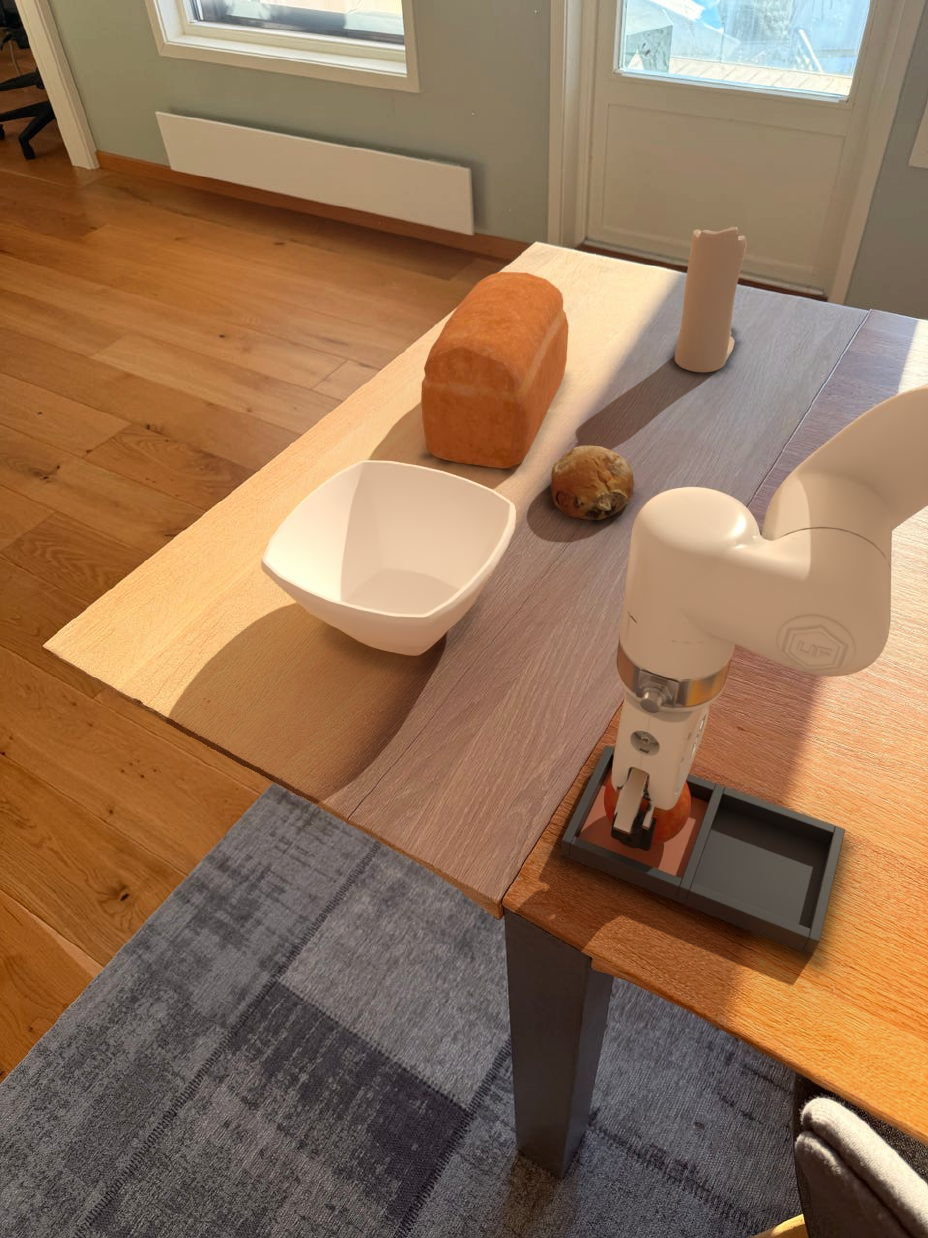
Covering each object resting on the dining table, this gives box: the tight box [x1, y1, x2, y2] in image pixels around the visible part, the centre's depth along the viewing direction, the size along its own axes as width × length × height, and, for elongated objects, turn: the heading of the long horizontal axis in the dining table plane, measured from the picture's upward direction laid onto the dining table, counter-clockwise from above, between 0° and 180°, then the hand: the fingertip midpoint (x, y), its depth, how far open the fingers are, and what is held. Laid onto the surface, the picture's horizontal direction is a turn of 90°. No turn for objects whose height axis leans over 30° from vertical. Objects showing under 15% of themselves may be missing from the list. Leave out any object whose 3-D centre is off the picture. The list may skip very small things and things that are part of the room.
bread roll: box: [550, 445, 635, 521], centre depth 108 cm, size 10×10×8 cm
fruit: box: [604, 775, 691, 845], centre depth 73 cm, size 7×7×8 cm
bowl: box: [260, 459, 517, 657], centre depth 92 cm, size 22×22×12 cm
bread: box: [420, 271, 569, 469], centre depth 118 cm, size 14×26×16 cm, turn 162°
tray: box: [560, 744, 846, 957], centre depth 74 cm, size 20×11×2 cm, turn 64°
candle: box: [674, 226, 747, 373], centre depth 126 cm, size 7×14×20 cm, turn 154°
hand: (646, 803), depth 74 cm, fingers closed on fruit, 7 cm apart
